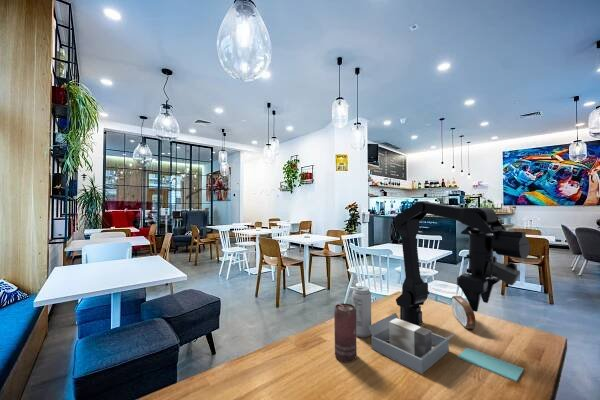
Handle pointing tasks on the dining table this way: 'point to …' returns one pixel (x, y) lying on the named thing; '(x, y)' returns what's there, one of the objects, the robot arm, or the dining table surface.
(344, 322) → the can
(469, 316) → the tin
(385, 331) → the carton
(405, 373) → the dining table surface
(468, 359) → the mat
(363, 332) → the energy drink can
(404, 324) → the block
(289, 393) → the dining table surface
